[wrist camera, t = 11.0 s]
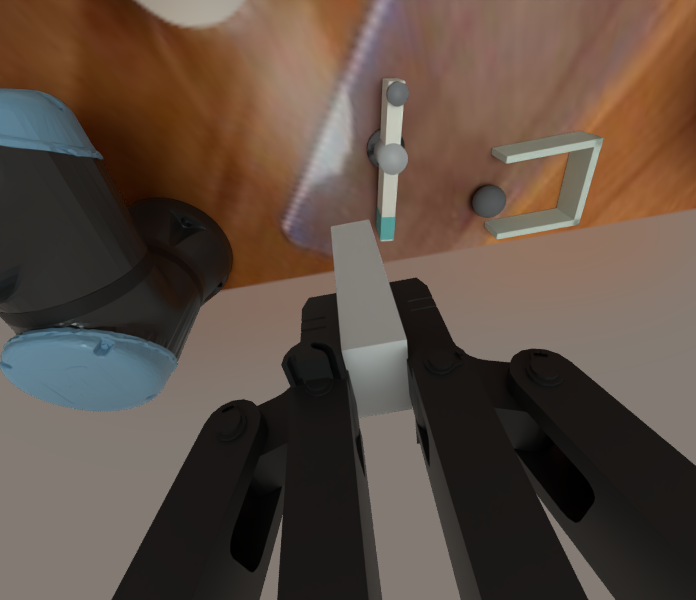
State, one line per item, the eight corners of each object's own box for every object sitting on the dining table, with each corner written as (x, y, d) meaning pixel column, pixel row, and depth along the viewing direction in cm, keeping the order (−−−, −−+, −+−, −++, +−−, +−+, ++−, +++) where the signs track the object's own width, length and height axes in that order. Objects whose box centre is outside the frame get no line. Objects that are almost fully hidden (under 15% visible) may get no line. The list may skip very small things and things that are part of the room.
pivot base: (369, 170, 41) (370, 171, 41) (364, 131, 38) (365, 132, 38) (404, 163, 41) (405, 164, 40) (402, 124, 38) (403, 125, 38)
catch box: (484, 226, 47) (496, 239, 44) (492, 147, 41) (507, 156, 37) (560, 212, 47) (578, 224, 44) (580, 130, 40) (603, 137, 37)
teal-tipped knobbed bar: (371, 228, 45) (376, 245, 41) (376, 78, 35) (383, 82, 31) (393, 227, 45) (400, 243, 41) (404, 78, 35) (414, 81, 31)
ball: (477, 226, 45) (475, 212, 41) (470, 201, 46) (467, 185, 42) (509, 217, 43) (509, 201, 40) (501, 191, 44) (501, 174, 41)
